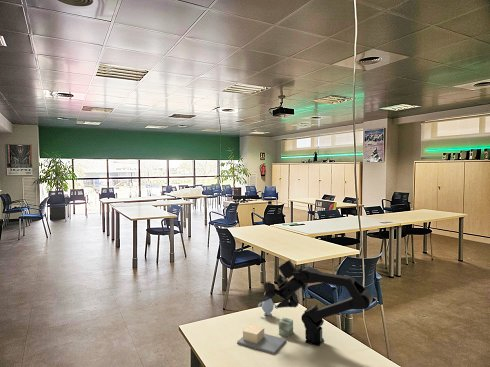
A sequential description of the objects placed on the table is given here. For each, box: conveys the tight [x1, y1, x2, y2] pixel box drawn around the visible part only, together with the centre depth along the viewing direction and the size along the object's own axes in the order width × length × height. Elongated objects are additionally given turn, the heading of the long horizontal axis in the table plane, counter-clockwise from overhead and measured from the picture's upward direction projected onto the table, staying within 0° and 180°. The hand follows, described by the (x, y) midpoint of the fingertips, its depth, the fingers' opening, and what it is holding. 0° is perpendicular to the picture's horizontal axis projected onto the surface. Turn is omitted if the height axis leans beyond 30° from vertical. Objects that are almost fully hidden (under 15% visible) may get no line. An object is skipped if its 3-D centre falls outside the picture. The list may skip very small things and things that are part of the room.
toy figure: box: [257, 292, 279, 317], centre depth 175 cm, size 11×6×12 cm, turn 75°
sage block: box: [278, 317, 294, 338], centre depth 156 cm, size 5×5×6 cm
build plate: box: [236, 324, 287, 355], centre depth 148 cm, size 18×12×5 cm, turn 60°
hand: (269, 303), depth 160 cm, fingers open, 9 cm apart
